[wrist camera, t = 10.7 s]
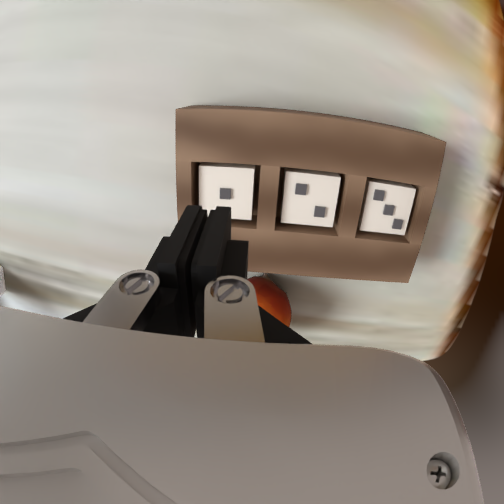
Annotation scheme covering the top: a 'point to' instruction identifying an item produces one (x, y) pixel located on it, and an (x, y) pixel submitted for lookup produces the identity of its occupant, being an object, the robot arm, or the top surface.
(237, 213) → the button
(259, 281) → the fruit
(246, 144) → the wooden slot board
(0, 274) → the syrup box
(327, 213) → the button
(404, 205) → the button
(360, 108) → the top surface
